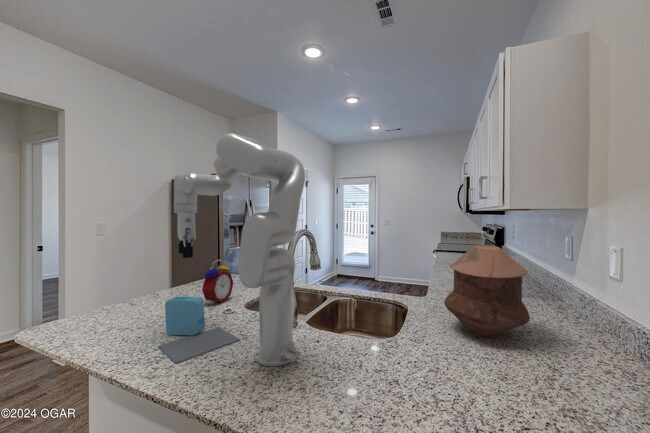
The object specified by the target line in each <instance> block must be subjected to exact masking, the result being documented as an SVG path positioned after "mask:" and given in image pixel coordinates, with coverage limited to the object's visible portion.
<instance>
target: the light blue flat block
mask: <svg viewBox="0 0 650 433" xmlns="http://www.w3.org/2000/svg"><path fill="white" fill-rule="evenodd" d="M164 307H165V308H164V310H165V312H164V313H165V331H166V333H167V335H171V336H191V335H196V334H198V333H201V332H203V330H204V329H205V328H206V326H205V324H206V323H205V320H206V319H205V299H203V298H202V297H201V296H175V297H172V298H170V299H168V300H166V301H165V305H164Z"/></svg>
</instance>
